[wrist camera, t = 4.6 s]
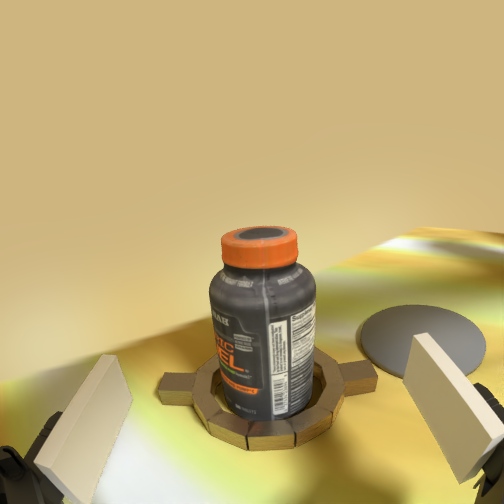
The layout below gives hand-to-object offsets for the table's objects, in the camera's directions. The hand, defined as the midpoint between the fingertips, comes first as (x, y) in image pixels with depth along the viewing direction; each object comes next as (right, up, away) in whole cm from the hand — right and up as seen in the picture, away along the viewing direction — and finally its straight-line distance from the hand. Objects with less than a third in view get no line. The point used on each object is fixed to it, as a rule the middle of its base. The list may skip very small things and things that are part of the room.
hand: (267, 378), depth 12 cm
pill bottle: (0, -5, +7) cm, 9 cm away
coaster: (+14, -2, +11) cm, 18 cm away
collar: (0, -4, +7) cm, 8 cm away
